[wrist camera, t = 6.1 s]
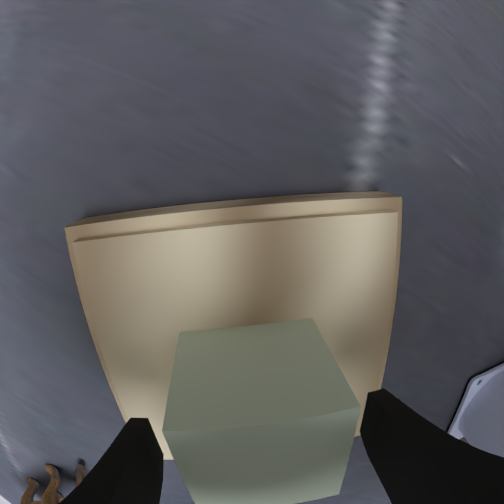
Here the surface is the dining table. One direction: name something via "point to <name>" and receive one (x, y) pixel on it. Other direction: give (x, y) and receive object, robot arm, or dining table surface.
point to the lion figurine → (49, 487)
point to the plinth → (237, 283)
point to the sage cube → (259, 414)
